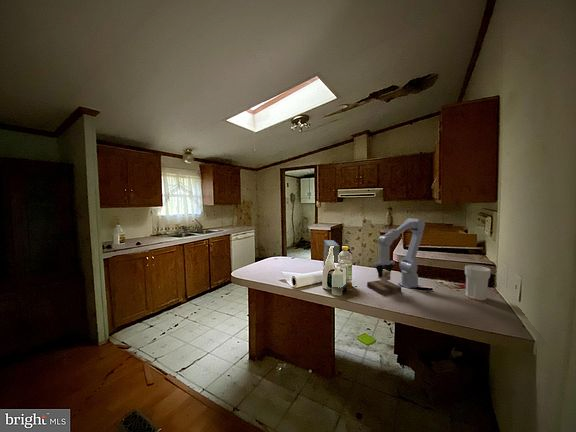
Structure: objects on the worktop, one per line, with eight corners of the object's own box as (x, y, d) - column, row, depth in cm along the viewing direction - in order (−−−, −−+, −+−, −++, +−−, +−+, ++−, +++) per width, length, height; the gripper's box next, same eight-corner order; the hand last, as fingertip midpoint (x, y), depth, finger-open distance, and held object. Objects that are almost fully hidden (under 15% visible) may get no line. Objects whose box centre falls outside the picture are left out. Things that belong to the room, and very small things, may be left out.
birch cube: (384, 277, 147) (384, 269, 147) (390, 279, 142) (390, 271, 142) (378, 278, 146) (378, 270, 145) (383, 280, 141) (383, 272, 140)
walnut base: (384, 283, 154) (384, 279, 153) (401, 292, 140) (401, 287, 140) (367, 286, 149) (367, 282, 149) (382, 295, 136) (382, 290, 136)
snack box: (339, 283, 156) (340, 245, 154) (326, 283, 156) (327, 245, 154) (334, 272, 177) (334, 239, 175) (322, 272, 178) (322, 239, 176)
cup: (458, 295, 135) (460, 266, 133) (470, 292, 139) (472, 264, 138) (480, 303, 124) (482, 272, 123) (493, 299, 129) (495, 269, 127)
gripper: (379, 257, 137) (378, 279, 138) (398, 255, 141) (398, 277, 142) (371, 254, 144) (371, 276, 145) (390, 252, 148) (389, 273, 149)
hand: (383, 276), depth 144 cm, fingers closed on birch cube, 5 cm apart
